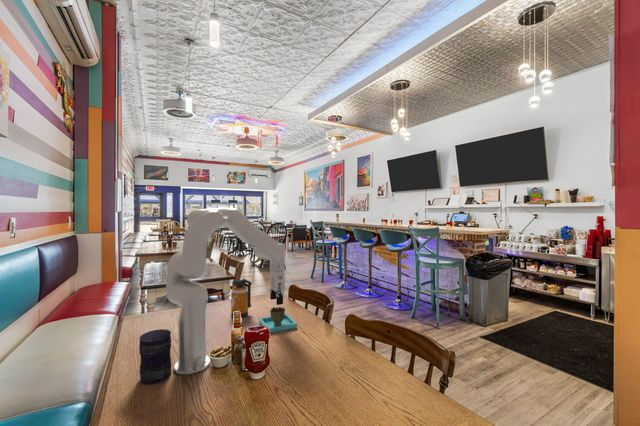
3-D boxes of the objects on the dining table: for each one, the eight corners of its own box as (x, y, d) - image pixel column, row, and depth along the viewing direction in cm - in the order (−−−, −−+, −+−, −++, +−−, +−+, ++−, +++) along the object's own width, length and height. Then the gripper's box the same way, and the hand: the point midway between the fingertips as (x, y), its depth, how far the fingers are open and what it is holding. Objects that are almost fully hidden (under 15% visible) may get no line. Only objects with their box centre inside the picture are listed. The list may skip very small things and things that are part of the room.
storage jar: (143, 372, 107) (142, 331, 106) (173, 367, 110) (172, 327, 110) (136, 388, 97) (136, 343, 97) (169, 381, 101) (169, 338, 101)
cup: (282, 328, 144) (282, 312, 144) (268, 327, 145) (268, 311, 145) (286, 322, 151) (286, 306, 151) (273, 321, 152) (273, 306, 152)
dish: (297, 328, 145) (297, 323, 145) (267, 334, 138) (267, 329, 138) (286, 318, 159) (286, 313, 158) (258, 323, 152) (258, 318, 152)
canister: (230, 314, 165) (229, 278, 164) (250, 311, 169) (249, 276, 169) (232, 319, 157) (232, 282, 156) (253, 316, 161) (253, 280, 161)
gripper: (290, 270, 142) (289, 305, 142) (278, 264, 157) (277, 296, 157) (275, 271, 138) (274, 307, 138) (264, 265, 154) (264, 298, 154)
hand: (276, 301), depth 148 cm, fingers open, 9 cm apart
